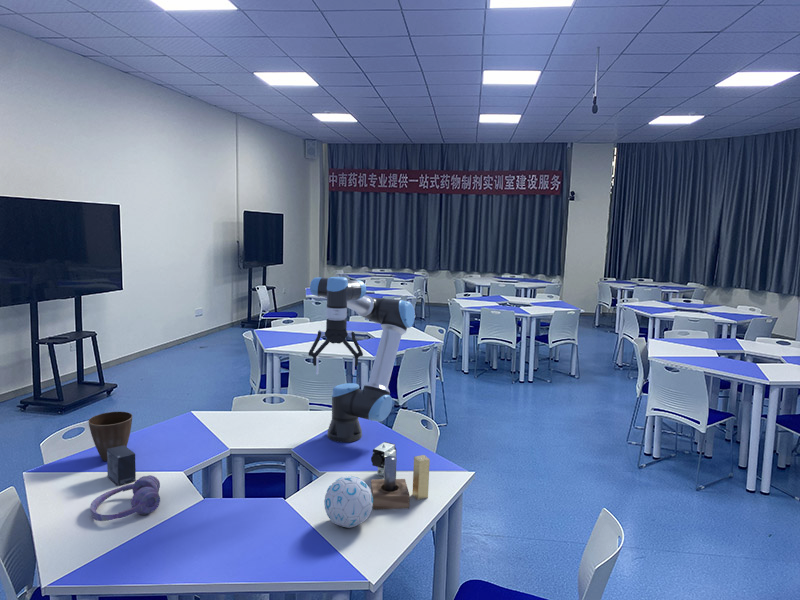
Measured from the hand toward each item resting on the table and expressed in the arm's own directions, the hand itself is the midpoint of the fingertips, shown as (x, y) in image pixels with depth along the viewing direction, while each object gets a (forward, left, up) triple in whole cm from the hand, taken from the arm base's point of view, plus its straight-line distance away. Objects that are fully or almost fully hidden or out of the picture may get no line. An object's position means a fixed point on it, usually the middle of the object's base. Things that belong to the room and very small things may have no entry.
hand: (335, 374), depth 207 cm
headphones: (+28, -66, -37) cm, 81 cm away
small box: (+7, -75, -37) cm, 84 cm away
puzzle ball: (+41, +5, -37) cm, 56 cm away
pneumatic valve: (+8, +19, -37) cm, 42 cm away
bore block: (+27, +19, -37) cm, 49 cm away
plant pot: (-11, -85, -37) cm, 93 cm away
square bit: (+25, +30, -37) cm, 54 cm away
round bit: (+27, +19, -36) cm, 49 cm away
